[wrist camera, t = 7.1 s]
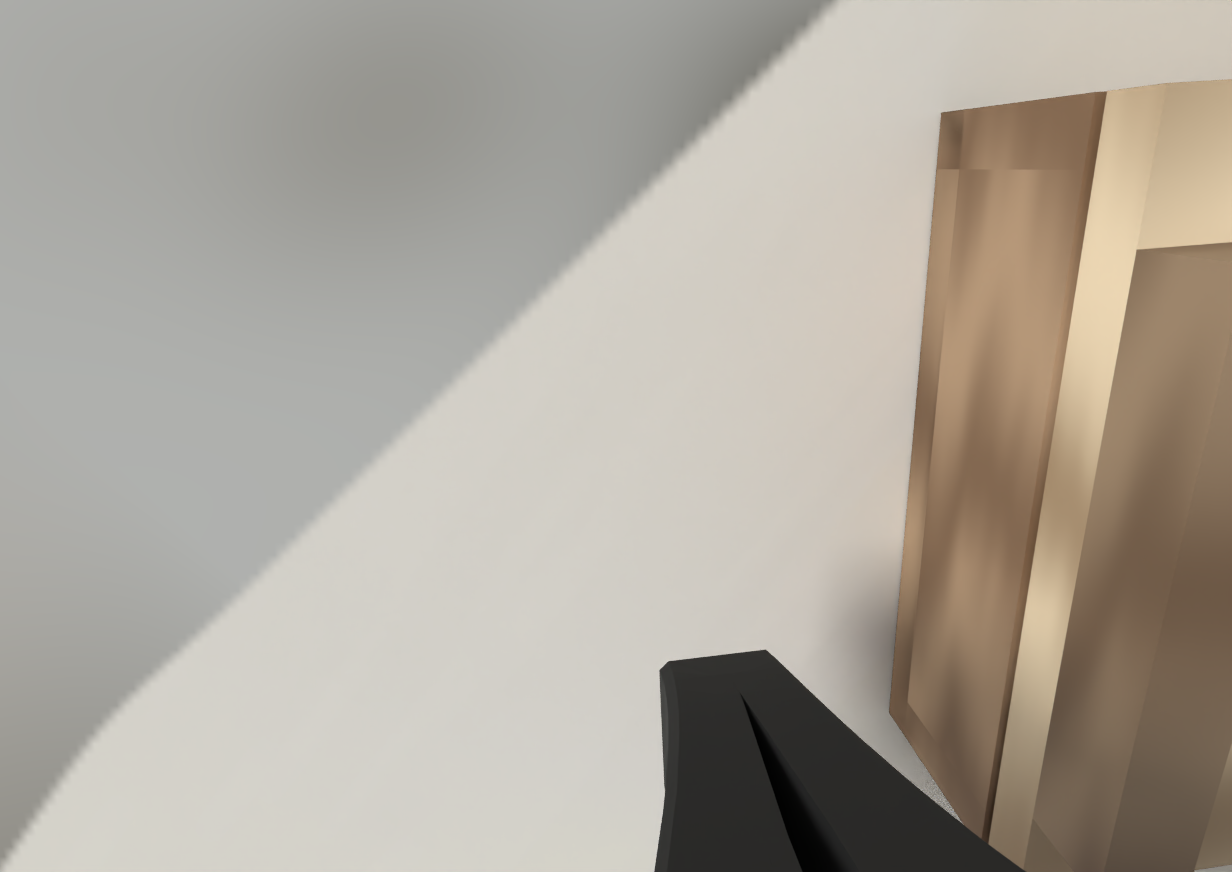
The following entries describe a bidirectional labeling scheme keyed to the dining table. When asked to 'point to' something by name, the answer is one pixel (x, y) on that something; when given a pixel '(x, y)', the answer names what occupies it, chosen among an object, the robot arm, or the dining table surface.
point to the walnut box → (986, 424)
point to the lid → (1136, 520)
